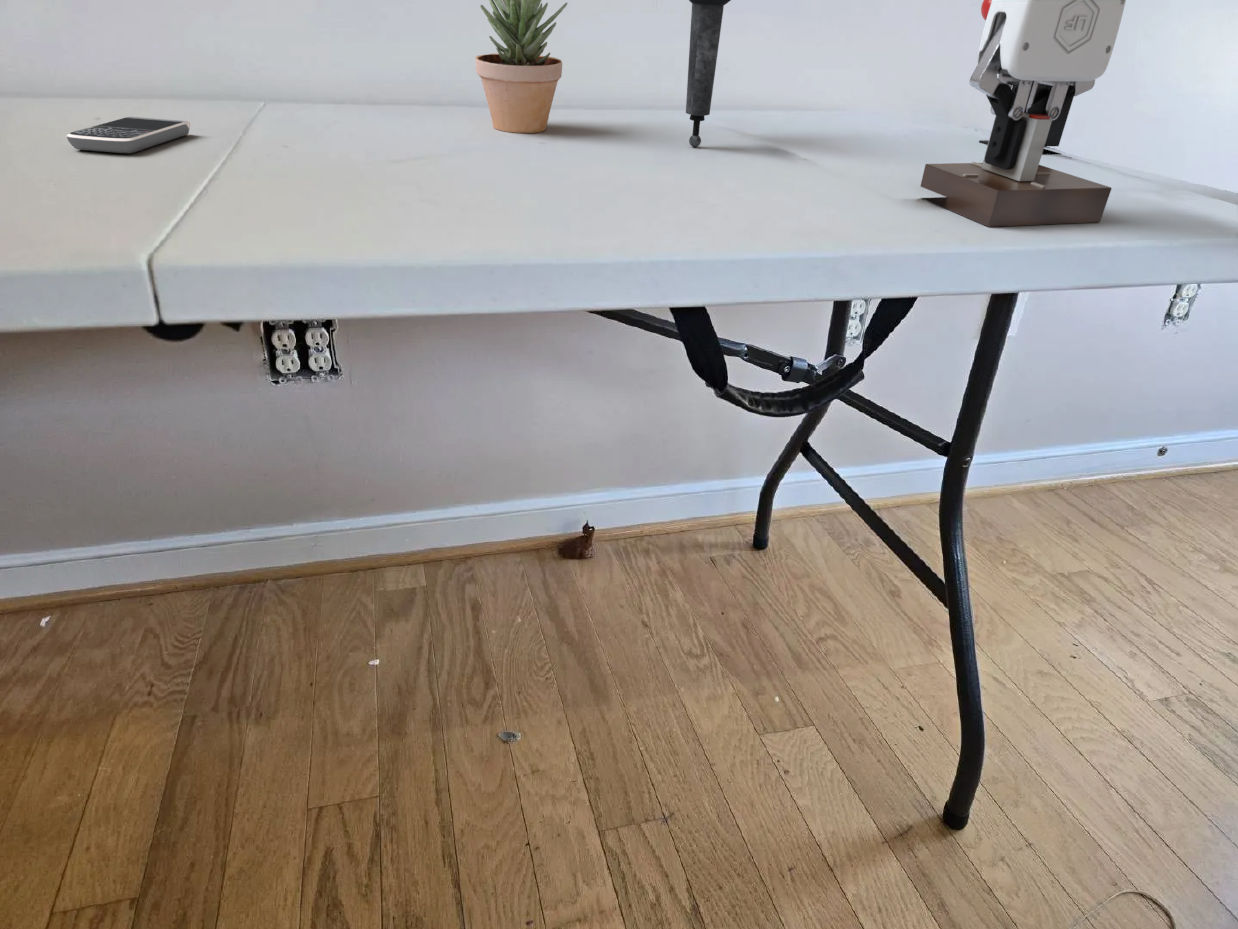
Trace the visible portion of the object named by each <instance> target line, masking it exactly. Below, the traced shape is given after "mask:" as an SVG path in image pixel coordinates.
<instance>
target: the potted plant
mask: <svg viewBox="0 0 1238 929" xmlns="http://www.w3.org/2000/svg"><path fill="white" fill-rule="evenodd" d="M488 2H489V4H490V7H491V8H492V13H491V12H490V11H489V10H488V9H487V8H486V7H485V6H484V4H479V5H480V6H479V7H480V9H481V10H482V12H483V13H484V15H485V16H486V18H487V22H488V23H489V25H490V26H491V27H492V29H493V30H494V32H495V33H496V35H497V36H498V37H499V39H500V40H501V41H502V42H503V44H504V45H505V46H503V45H502V44H500V43H499V42H498V41H497V40H496V39H495V38H493V36H491V35H488V38H489V39H490V41H491V42H492V43H493V45H494V46H495V49H496V51H497V53H487V54H479V55H477V56H476V57H475V71H476V75H478V77H479V78H480V80H481V84H482V87H483V92H484V94H485V98H486V102H487V106H488V109H489V114H490V117H491V121H492V122H491V123H492V126H493V128H494V129H495V130H497V131H500V132H501V131H502V132H506V133H507V132H508V133H514V134H515V133H516V134H518V133H519V134H535V133H536V134H537V133H540V132H541V133H542V132H544V131H545V130H546V128H547V125H548V121H549V117H550V112H551V108H552V104H553V100H554V97H555V93H556V89H557V86H558V82H559V80H560V79H561V78H562V75H563V74H562V73H563V61H562V59H559V58H557V57H553V56H550V55H551V51H549V52H548V53H547V54H546V55H542V54H543V53H544V51H545V49H546V48H547V46H548V41H546V40H547V39H548V38H549V36H550V35H551V34H552V32H553V31H554V28H555V27H556V26H557V21H555V22H554V20H555V19H556V18H558V16H559V15H560V14H561V13H563V10H564V9H565V8H566V7H567V6H568V2H565V3H564V4H562V6H561V7H560V8H559V9H558V10H557V11H555V12H554V13H553V14H552V15H551V16H550V17H548V18H547V20H546V21H544V22H543V23H542V24H540V22H541V20H542V18H543V17H544V15H545V13H546V11H547V8H548V5H549V3H548V2H546V3H545V4H544V5H543V2H542V0H488ZM552 22H554V23H552ZM551 23H552V24H551ZM539 24H540V25H539ZM550 24H551V25H550ZM538 25H539V26H538ZM549 25H550V26H549ZM548 26H549V27H548ZM547 27H548V28H547ZM546 28H547V29H546ZM545 29H546V30H545ZM543 31H544V32H543Z"/></svg>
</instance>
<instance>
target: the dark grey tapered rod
mask: <svg viewBox="0 0 1238 929" xmlns="http://www.w3.org/2000/svg"><path fill="white" fill-rule="evenodd" d="M688 1H689V2H690V3H691V17H690V30H689V32H690V35H689V50H688V67H687V82H686V84H687V85H686V101H685V113H686V114H687V115H689V120H690V121H693V122H692V124H693V125H692V134H691V136H690V137H689V138H688V143H689V145H690V146H691V147H693V148H697V147H699V146H700V145H701V144H702V139H701V136H700V126H701V122H704V121H705V120H706V118H705V116H709V115H710V113H711V106H712V99H713V90H714V83H715V75H716V67H717V60H718V53H719V46H720V38H721V32H722V31H721V29H722V24H723V23H722V22H723V21H722V20H723V14H724V9H725V8H724V7H725V6H726V5H727V4H728V3H729V2H731V1H732V0H688Z"/></svg>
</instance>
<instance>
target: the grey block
mask: <svg viewBox="0 0 1238 929" xmlns="http://www.w3.org/2000/svg"><path fill="white" fill-rule="evenodd" d="M994 116H995V117H994V120H993V124H992V128H991V132H990V134H989V139H988V140H990V136H991V133H992V129H993V125H994V121H995V118H996V115H994ZM1021 120H1025V121H1027V122H1026V128H1025V132H1024V135H1023V139H1022V142H1021V146H1020V149H1019V153H1018V156H1017V160H1016V163H1015V166H1014V167H1013V168H1012V169H1011V170H1005V169H1002V168H999V167H996V166H993V165H990V164H987V163H985V155H986V151H987V148H988V145H986V146H987V147H986V150H985V154H984V157H983V162H982V163H983V165H982V169H985V170H987V171H990V172H993V173H996V174H999V175H1002V176H1005V177H1008V178H1010V179H1013V180H1016V181H1019V182H1022V181H1034V179H1035V176H1036V172H1037V169H1038V166H1039V165H1040V162H1041V158H1042V152H1043V149H1045V147H1046V146H1045V142H1046V139H1047V136H1048V132H1049V129H1050V126H1051V122H1052V120H1051V119H1050V116H1047V115H1043V114H1027V113H1024V114H1023V116H1022V118H1021ZM988 144H989V142H988Z"/></svg>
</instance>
